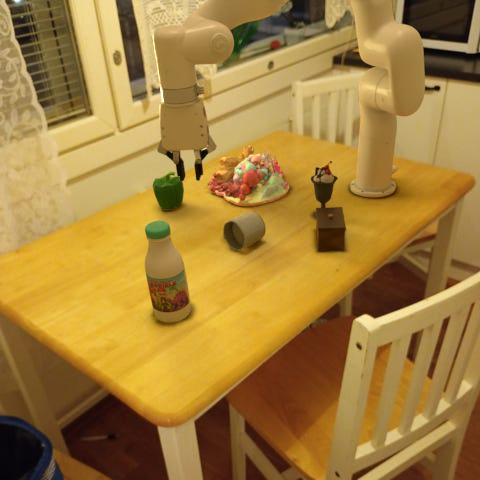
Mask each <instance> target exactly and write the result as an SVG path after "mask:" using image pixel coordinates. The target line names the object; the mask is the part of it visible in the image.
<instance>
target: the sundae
mask: <svg viewBox="0 0 480 480" xmlns="http://www.w3.org/2000/svg"><path fill="white" fill-rule="evenodd" d="M332 163H333V161H332V160H329V162H328V163H327V164H326V165H324V166H322V167H318V166H316V167H315V170H314V171H315V172H314V175H312V176H310V181H311V183H312V184H313V190H314V197H315V200H316V201H317V202H318V203H319V204H320V208H326V205H327V203H328V202H329V201H330V200H331V199H332V196H333V192H334V185H335V183H336V182H337V181H338V179H339V177H338V176H336V175H334V174H333V173H332V170H331V168H330V165H331V164H332ZM313 217H314V218H316V211H314V212H313Z"/></svg>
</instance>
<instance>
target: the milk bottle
mask: <svg viewBox="0 0 480 480" xmlns="http://www.w3.org/2000/svg"><path fill="white" fill-rule="evenodd" d="M144 232H145V236H146V240H147V241H148V245H147V250H146V255H145V259H144V270H145V277H146V281H147V287H148V292H149V296H150V301H151V305H152V311H153V314H154V316H155V318H156V319H157V320H159V321H160V322H163V323H177V322H181V321H182V320H184V319H186V318H187V317H188V316H189V315H190V314H191V310H192V303H191V297H190V291H189V284H188V278H187V273H186V267H185V262H184V259H183V256H182V254H181V253H180V251H179V250H178V249H177V247H176V246H175V244H174V242H173V240H172V238H171V236H172V232H171V225H170V223H169V222H167V221H165V220H155V221H151V222H149V223H147V224H146V225H145V227H144Z"/></svg>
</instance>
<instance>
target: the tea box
mask: <svg viewBox="0 0 480 480" xmlns="http://www.w3.org/2000/svg"><path fill="white" fill-rule="evenodd" d="M315 212H316V219H315V220H316V221H315V228H316V229H315V233H316V244H317V252H337V251H338V252H339V251H341V252H342V251H345V239H346V238H345V237H346V231H347V226H346V220H345V214H344V209H343V207H342V206H339V207H338V206H336V207H335V206H332V207H325V208H321V207H315Z"/></svg>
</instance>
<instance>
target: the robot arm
mask: <svg viewBox="0 0 480 480" xmlns="http://www.w3.org/2000/svg"><path fill="white" fill-rule="evenodd" d="M289 1H290V0H206V1H205V2H204V3H202V4H201V5H200V6H199V7H198V8H196V9H195V10H194V11H192V13H191V14H190V15H188V17H187V18H186V19H185V20H184V21H183V23H182V24H181V25H178V24H177V25H167V26H166V25H165V26H161V27H158V28H156V29H155V30H154V31H153V34H152V41H153V43H152V44H153V49H154V55H155V61H156V62H155V63H156V68H157V75H158V80H159V81H158V82H159V87H160V94H161V95H160V96H161V100H160V101H159V129H160V131H159V132H160V141H159V143H158V147H157V150H156V151H157V153H158V154H161V155H163V156H166V157H167V158H168V159H169V160H171V162H173V164H174V165H175V170H176V177H180V181H182V182H184V181H185V179H186V170H185V163H184V162H185V161H184V160H183V158H182V157H181V156H182V154H181V151H193V153H194V157H195V160H194V164H193V165H194V175H195V180H196V181H201V177H202V176H203V175H204V167H203V161H204V160H205V158H206V157H207V156H208V155H209V154H211V153H213V152H214V151H216V149H217V144H216V142H215V141H214V139H213V137H212V136H211V135H210V128H209V121H208V115H207V111H206V110H207V109H206V107H205V103H204V99H203V97H200V96H201V95H205V87H204V86H199V84H198V81H197V73H196V66H199V65H217V64H222V63H223V62H225V61H226V60H228V59H229V58H230V57H231V55H232V53H233V51H234V48H235V38H234V35H233V33H232V30H233V29H235V28H236V27H238V26H240V25H243V24H247V23H250V22H256V21H259V20H263V19H266V18H268V17H270V16H273V15H274V14H276V13H277V12H278V11H279V10H280V9H282V8H283V7H284V6H285V5H286V4H287V3H288V2H289ZM348 1H349V3H350V5H351V8H352V12H353V13H352V14H353V17H354V25H355V31H356V41H357V47H358V53H359V57H360V59H361V61H363V62H364V63H365V64H367V65H370V66H372V67H371V68H368V69H367V70H366V71H365V72H364V73H363V74H362V76H361V78H360V80H359V82H358V89H357V96H358V103H359V104H358V106H359V130H358V131H359V132H358V143H357V144H358V145H357V159H356V160H357V161H356V174H355V178H354V179H353V180H351V181H350V183H349V190H350V192H351V193H353V194H355V195H356V196H360V197H364V198H372V199H373V198H375V199H376V198H384V197H388V196H390V195H392V194H393V193H395V191H396V189H397V184H396V182H395V181H394V180H392V176H393V174H395V173H396V172H397V171H398V167H397V166H396V165H393V163H394V158H395V157H394V156H395V147H396V139H397V131H398V119H397V118H398V117H409V116H412V115H414V114H415V113H416V112H417V111H418V110H419V109H420V108H421V105H422V104H423V101H424V98H425V93H426V76H425V75H426V72H425V56H424V55H425V54H424V53H425V52H424V44H423V39H422V37H421V35H420V33H419V31H418V30H417V29H416V28H414V27H413V26H411V25H409V24H405V23H398V22H397V21H396V20H395V16H394V10H393V2H392V0H348ZM397 116H398V117H397Z"/></svg>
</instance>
